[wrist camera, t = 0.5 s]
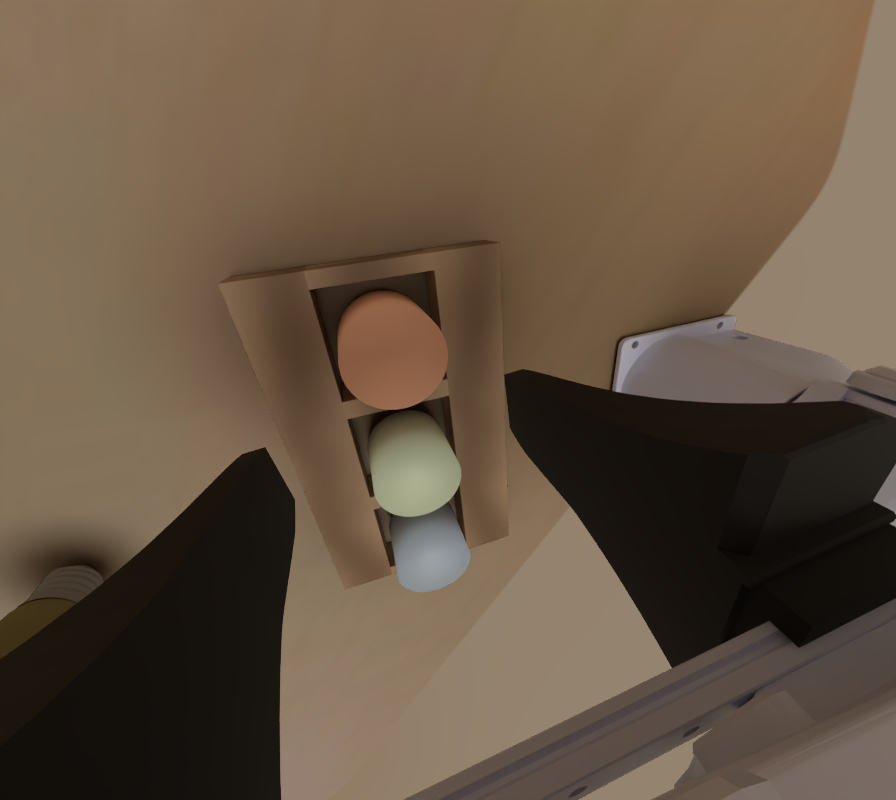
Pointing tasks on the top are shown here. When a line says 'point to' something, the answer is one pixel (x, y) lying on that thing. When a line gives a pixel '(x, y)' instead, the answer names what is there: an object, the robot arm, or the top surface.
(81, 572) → the light bulb
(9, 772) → the robot arm
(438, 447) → the sage button
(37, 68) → the top surface
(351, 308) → the orange rounded lump
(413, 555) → the grey rounded piece
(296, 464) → the wooden compartment tray
